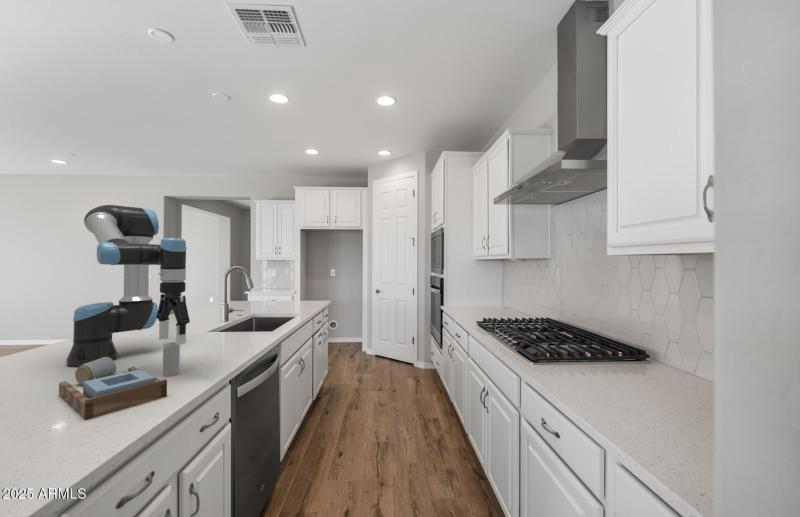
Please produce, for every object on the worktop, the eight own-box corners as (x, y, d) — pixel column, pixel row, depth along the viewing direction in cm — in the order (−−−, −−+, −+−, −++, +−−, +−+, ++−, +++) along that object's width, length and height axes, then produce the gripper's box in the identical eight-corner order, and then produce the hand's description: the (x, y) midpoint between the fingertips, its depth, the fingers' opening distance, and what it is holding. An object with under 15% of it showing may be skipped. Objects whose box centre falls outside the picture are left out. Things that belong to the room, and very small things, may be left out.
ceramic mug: (72, 385, 108) (73, 362, 108) (99, 377, 116) (99, 355, 116) (98, 389, 106) (99, 365, 106) (124, 380, 114) (124, 358, 114)
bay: (58, 399, 97) (59, 379, 98) (133, 381, 112) (133, 364, 112) (85, 424, 83) (85, 400, 83) (166, 400, 98) (167, 380, 98)
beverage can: (161, 381, 113) (162, 346, 113) (163, 376, 118) (164, 343, 118) (178, 378, 116) (178, 344, 116) (179, 374, 120) (180, 341, 120)
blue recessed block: (82, 403, 93) (83, 381, 93) (138, 388, 103) (139, 369, 103) (96, 414, 86) (97, 391, 86) (154, 397, 97) (155, 377, 97)
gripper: (146, 280, 121) (145, 338, 120) (177, 283, 107) (176, 348, 106) (169, 280, 127) (168, 335, 127) (201, 282, 113) (200, 343, 113)
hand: (172, 341), depth 117 cm, fingers open, 13 cm apart
